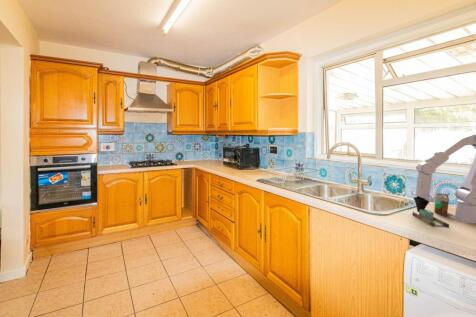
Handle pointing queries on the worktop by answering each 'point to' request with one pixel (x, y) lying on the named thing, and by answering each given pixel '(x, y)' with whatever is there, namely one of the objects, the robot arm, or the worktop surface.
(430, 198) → the robot arm
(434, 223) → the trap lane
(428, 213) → the teal block
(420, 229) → the worktop surface
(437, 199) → the food container
